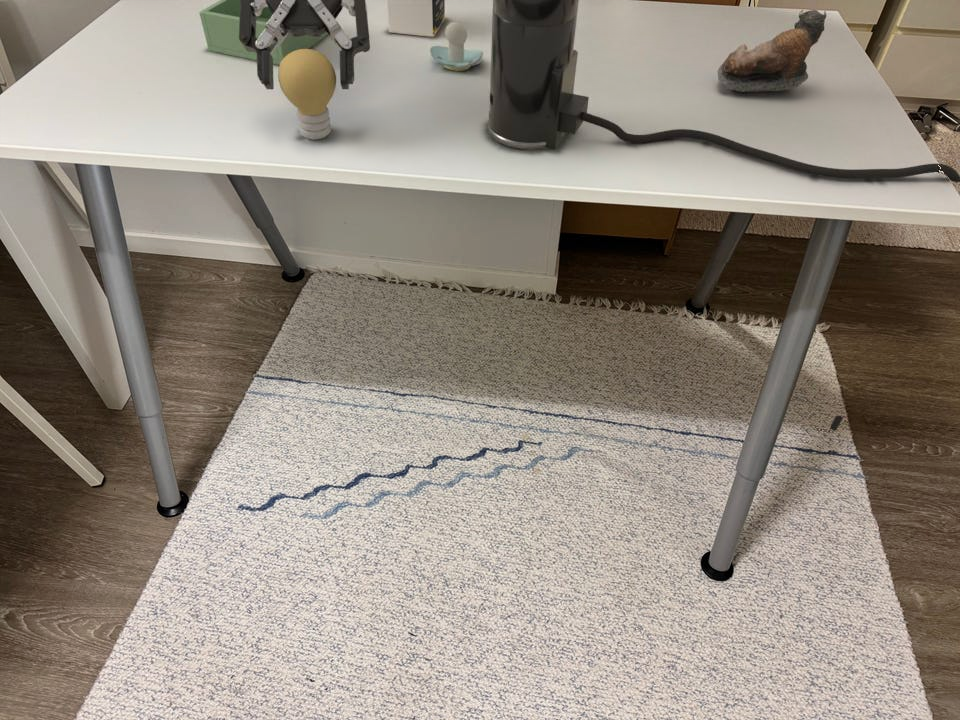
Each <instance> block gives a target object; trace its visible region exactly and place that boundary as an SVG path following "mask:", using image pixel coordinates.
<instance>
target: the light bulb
mask: <svg viewBox="0 0 960 720" xmlns="http://www.w3.org/2000/svg"><path fill="white" fill-rule="evenodd" d="M277 74H278V75H277V77H278V83H279V86H280V89H281V92H282V94H283V95H284V96H285V98H286V99H287V100H288V101H289V102H290V103H291V104H292V105H293V106H294V107H295V108H296V117H297V124H298V129H299V133H300V135H301V136H303V137H304V138H306V139H308V140H313V141H315V140H323V139H324V138H326V137H327V136H328V135H329V134H330V133H331V132H332V124H331V117H330V110H329V107H328V104H329V102H330V101H331V99H332V98H333V96H334V94H335V91H336V88H337V74H336V71H335V68H334V66H333V64H332V62H331V60H330V59H329V58H328V57H327V56H326V55H324V54H323V53H322V52H320V51H318V50H314V49H311V48H309V49H299V50H296V51H293V52H291V53H289V54H288V55H287V56H285V57H284V58H283V60H282V61H281V63H280V65H278V73H277Z"/></svg>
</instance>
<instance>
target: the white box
mask: <svg viewBox="0 0 960 720" xmlns="http://www.w3.org/2000/svg"><path fill="white" fill-rule="evenodd" d="M445 3H446V2H445V0H386V11H387V12H386V13H387V27H388V32H389V33H390V34H401V35H411V36H420V37H429V38H432V37H435V36H436V34H437V33H438V31H439V30H440V27H441V26H442V25H443V23H444V21H445V19H446V11H445V10H446V6H445Z"/></svg>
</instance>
